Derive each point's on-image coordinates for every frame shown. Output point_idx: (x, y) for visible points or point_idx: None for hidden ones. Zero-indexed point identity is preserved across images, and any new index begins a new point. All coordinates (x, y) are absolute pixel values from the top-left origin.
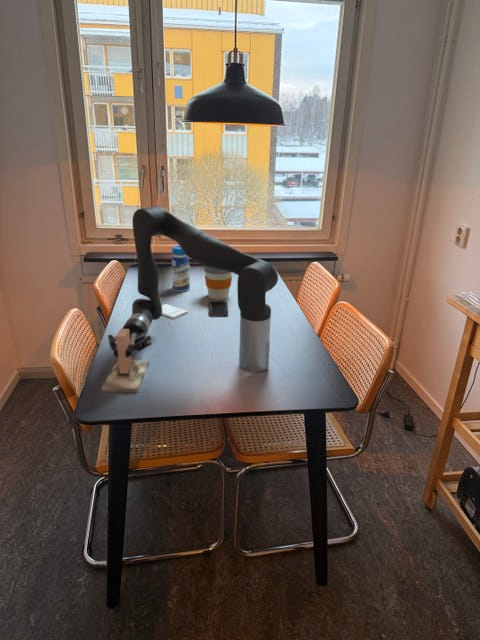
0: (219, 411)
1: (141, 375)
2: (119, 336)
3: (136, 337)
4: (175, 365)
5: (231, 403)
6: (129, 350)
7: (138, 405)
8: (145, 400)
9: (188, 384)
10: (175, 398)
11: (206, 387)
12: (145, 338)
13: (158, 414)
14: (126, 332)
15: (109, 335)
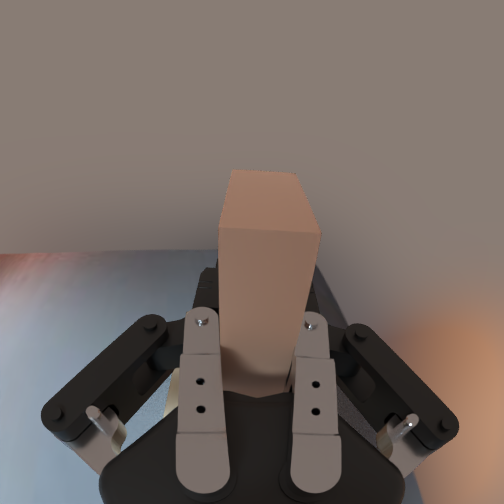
0: (32, 254)
1: (175, 384)
2: (269, 173)
3: (173, 432)
4: (39, 465)
5: (4, 269)
6: (211, 274)
7: (182, 276)
8: (163, 290)
9: (36, 339)
10: (87, 291)
11: (7, 319)
12: (87, 391)
13: (138, 253)
14: (231, 191)
15: (448, 417)
